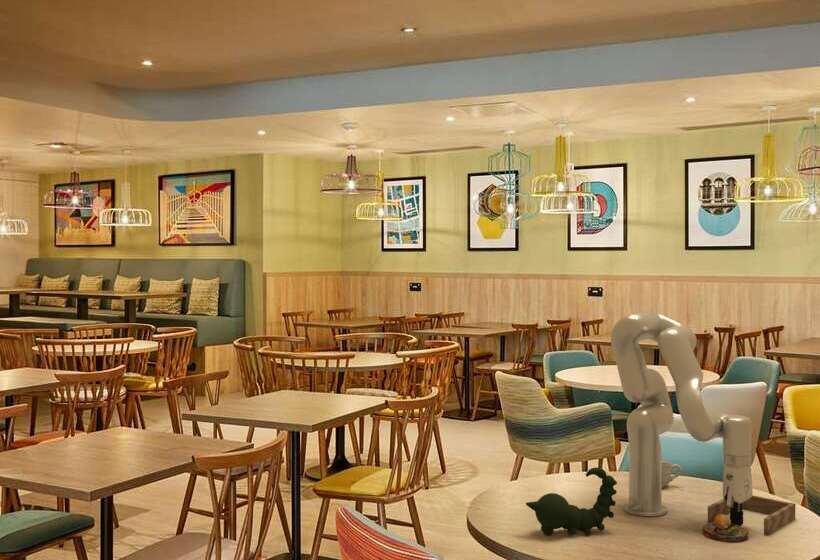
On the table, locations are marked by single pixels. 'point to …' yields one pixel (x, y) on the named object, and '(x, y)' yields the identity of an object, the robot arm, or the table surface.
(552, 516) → the toy figurine
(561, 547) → the table surface
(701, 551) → the table surface
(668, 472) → the teacup
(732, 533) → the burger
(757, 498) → the wooden u-shaped wall
